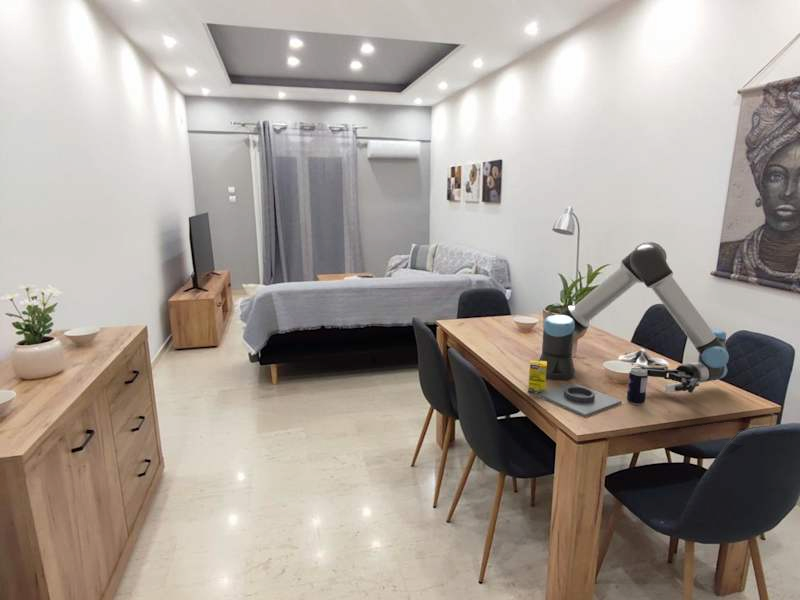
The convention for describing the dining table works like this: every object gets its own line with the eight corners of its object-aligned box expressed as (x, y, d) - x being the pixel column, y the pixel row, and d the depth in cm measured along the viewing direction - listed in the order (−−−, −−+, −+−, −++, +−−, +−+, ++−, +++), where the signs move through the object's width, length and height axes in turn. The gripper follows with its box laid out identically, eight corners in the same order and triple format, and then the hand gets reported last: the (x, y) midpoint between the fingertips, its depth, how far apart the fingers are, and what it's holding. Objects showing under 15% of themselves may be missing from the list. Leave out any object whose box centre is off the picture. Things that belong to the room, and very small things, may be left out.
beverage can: (639, 399, 168) (642, 367, 165) (647, 405, 162) (651, 372, 160) (623, 399, 168) (626, 367, 165) (631, 406, 162) (635, 373, 160)
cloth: (677, 366, 203) (678, 352, 202) (648, 372, 195) (649, 358, 194) (632, 351, 223) (633, 339, 222) (604, 357, 215) (605, 344, 214)
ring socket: (537, 396, 170) (538, 388, 169) (573, 385, 181) (574, 377, 180) (585, 417, 154) (585, 408, 153) (621, 403, 164) (622, 395, 163)
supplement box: (527, 392, 174) (529, 364, 171) (528, 386, 179) (530, 359, 177) (544, 394, 172) (546, 365, 170) (545, 388, 177) (547, 360, 175)
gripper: (723, 396, 162) (681, 406, 154) (659, 372, 185) (619, 380, 177) (727, 375, 161) (684, 384, 153) (662, 354, 183) (621, 361, 175)
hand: (649, 382), depth 165 cm, fingers open, 13 cm apart
